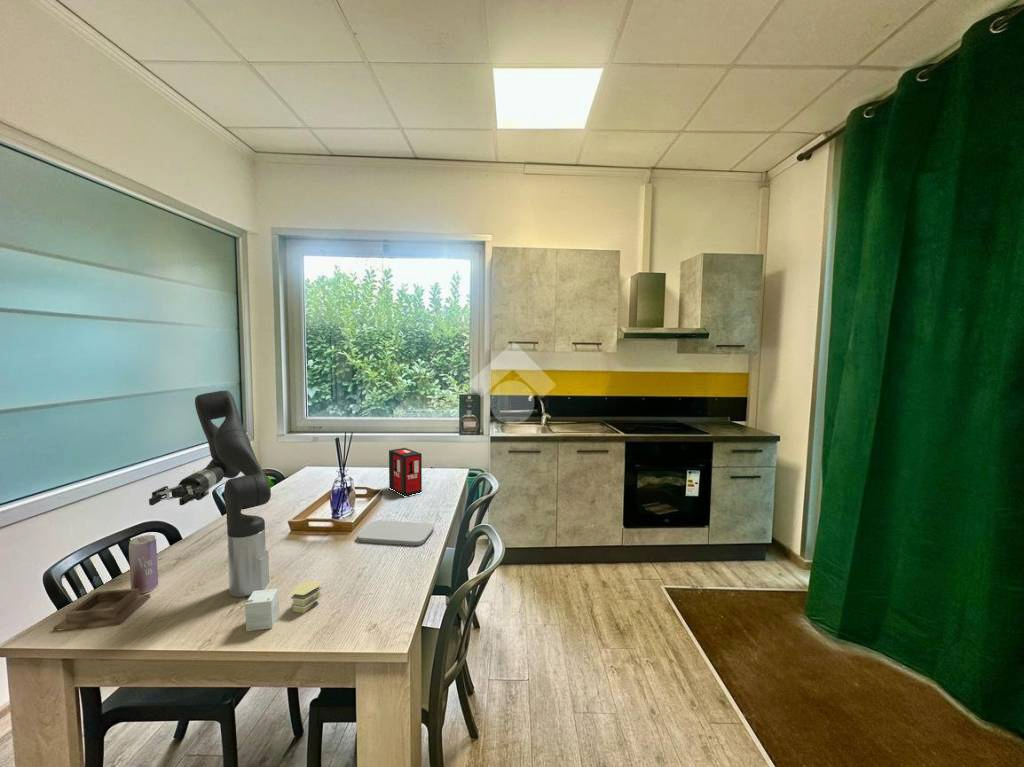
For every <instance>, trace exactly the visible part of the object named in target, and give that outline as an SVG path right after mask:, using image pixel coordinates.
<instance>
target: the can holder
mask: <svg viewBox="0 0 1024 767" xmlns="http://www.w3.org/2000/svg"><path fill="white" fill-rule="evenodd" d="M150 598H151V594H150V593H145V594H139V588H136V589H131V588H127V589H117V590H104V591H103V590H102V591H96V592H94V593H93V594H91V595H90V596H89V597H88V598H85V600H83V601H82V602H81V603H79V604H78V605H76V606H75V607H73V608H72V609H71V610H70V611H68V612H67V613H65V618H64V619H63V620H61V621H60V622H58V623H57V624H56V625H54V626H53V631H54V630H58V629H70V630H77V629H78V630H79V629H86V628H88V629H89V628H90V629H91V628H97V627H98V628H99V627H108V626H117V625H121V624H122V623H123V622H125V620H127V619H128V618H129V617H130V616H131V615H132V614H134V612H136V611H137V610H138V609H139V608H141V606H143V605H144V603H146V602H147V601H148V600H150Z"/></svg>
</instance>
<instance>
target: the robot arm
mask: <svg viewBox="0 0 1024 767" xmlns="http://www.w3.org/2000/svg"><path fill="white" fill-rule="evenodd" d="M194 407H195V411H196V414H197V418H198V419H199V422H200V425H201V428H202V431H203V434H204V436H205V437H206V440H207V443H208V448H209V453H210V456H211V457H210V458H211V460H210V461H209V463H208V464H207V465H206V466H205V467H204V468H202V469H201V470H198V471H196V472H194V473H192V474H190V475H188V476H186V477H184V478H183V479H181V480H180V482H179V483H178V484H177V485H176V486H174V487H170V488H169V486H167V485H164V486H163V487H160V488H159V489H156V490H154V491H152V492H151V498H149V499H148V503H149V506H155V505H156V504H158V503H159V502H161V501H162V502H163V501H165V500H167V501H171V500H175V499H178V501H179V502H178V504H179V506H184V505H186V504H188V503H190V502H193V501H195V500H196V501H201V500H203V499H204V498H205V497H206V496H208V495H209V494H210V490H211V488H213V487H214V486H215V485H217V484H219V483H220V482H221V481H223V478H225V479H228V480H226V481H225V483H224V490H223V493H224V494H223V495H224V502H225V512H226V528H227V533H226V535H227V559H228V584H229V585H228V586H229V588H228V589H229V594H230V595H231V596H232V597H235V598H237V597H238V598H240V597H241V598H242V597H247V596H249V597H250V596H251V594H252V593H253V591H258V590H265V588H266V587H267V585H268V584H269V583H270V565H269V564H270V562H269V557H270V556H269V551H268V550H266V546H267V545H266V522H265V519H264V518H263V517H262V516H259V515H249V514H244V513H242V511H243V510H247V509H248V510H249V509H251V508H256V507H260V506H264V505H266V504H267V503H269V501H270V500H271V496H272V491H271V486H270V483H269V479H268V478H267V476H266V474H265V472H264V470H263V468H262V467H261V464H260V463H259V461H258V459H257V458H256V455H255V452H254V449H253V446H252V444H251V441H250V438H249V435H248V433H247V431H246V430H245V428H244V424H243V422H242V420H241V418H240V414H239V411H238V408H237V404H236V401H235V398H234V395H233V393H231V392H230V391H229V390H217V391H212V392H205V393H201V394H198V395H197V396H195V398H194ZM222 418H224V421H222V423H221V424H220V425H219V427H218V426H217V425H216V424H215V423H213V421H212V420H217V419H222ZM240 473H242V475H244V476H239V474H240ZM238 476H239V477H238ZM170 493H171V496H170Z"/></svg>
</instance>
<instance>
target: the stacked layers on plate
mask: <svg viewBox="0 0 1024 767" xmlns="http://www.w3.org/2000/svg"><path fill="white" fill-rule="evenodd" d="M321 585H322V582H321V581H320V580H317V581H316V580H315V581H314V580H313V581H310V580H309V581H303V582H301V583H299V584H298V586H297V587H295V588H294V589H293V591H291V592H290V594H292V596H291V597H290V599H291V600H292V604H291V605H290V606H291V608H292V612H295V613H304V614H305V613H306V612H307V611H308V610H309V609H310V608H312V606H314V603H315V602H317V601H319V600H320V599H321V598H322V597H323V595H322V592H321V591H322V590H323V588H322V586H321Z"/></svg>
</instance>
